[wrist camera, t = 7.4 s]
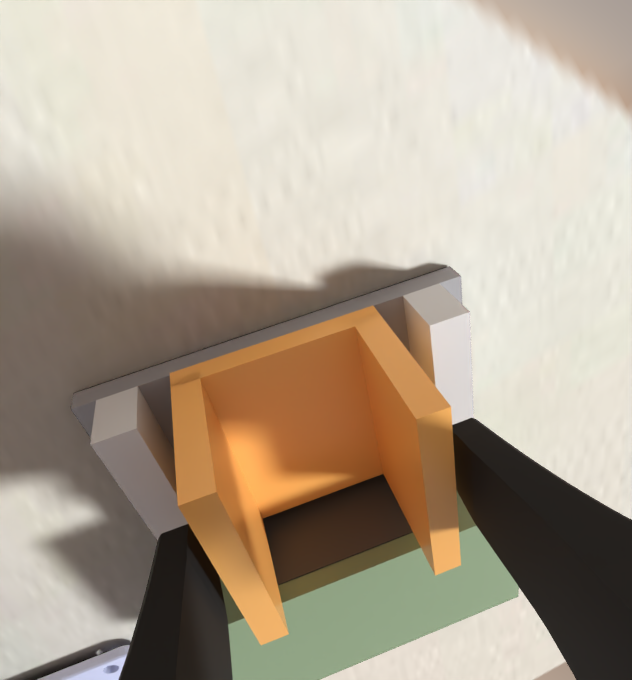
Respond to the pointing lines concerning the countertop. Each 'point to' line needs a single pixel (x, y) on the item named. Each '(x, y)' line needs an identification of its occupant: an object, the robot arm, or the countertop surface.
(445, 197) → the countertop surface
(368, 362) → the chute
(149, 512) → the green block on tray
